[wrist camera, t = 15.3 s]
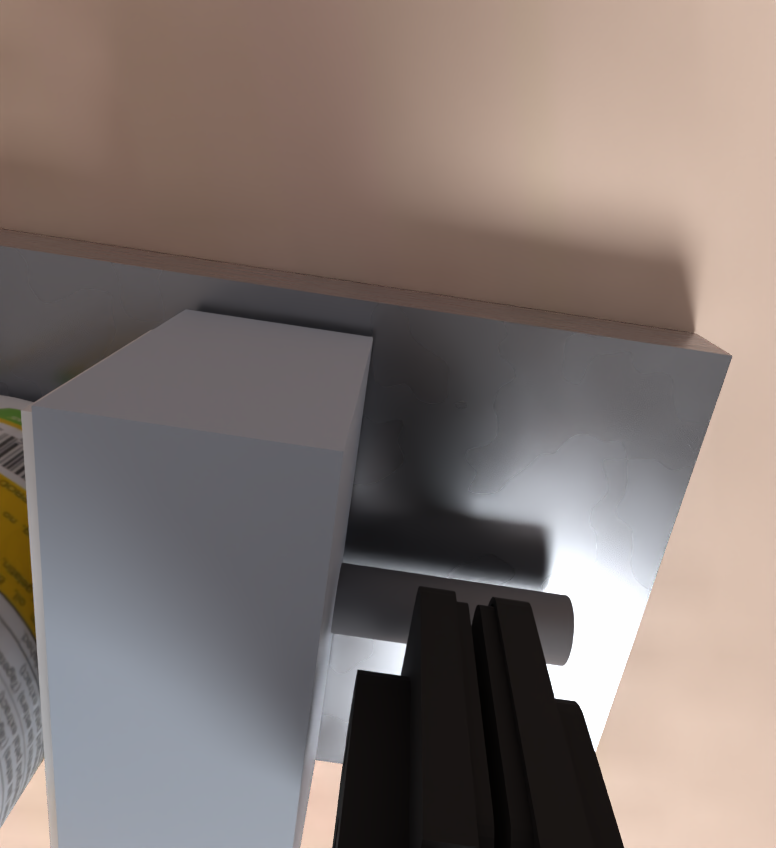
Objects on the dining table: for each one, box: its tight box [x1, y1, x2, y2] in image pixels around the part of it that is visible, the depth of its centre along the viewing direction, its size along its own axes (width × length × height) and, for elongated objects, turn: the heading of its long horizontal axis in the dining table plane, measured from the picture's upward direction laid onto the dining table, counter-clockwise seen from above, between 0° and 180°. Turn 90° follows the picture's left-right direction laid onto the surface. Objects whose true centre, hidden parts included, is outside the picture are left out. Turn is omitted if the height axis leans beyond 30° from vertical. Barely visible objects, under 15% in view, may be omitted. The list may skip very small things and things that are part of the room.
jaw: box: [21, 309, 574, 848], centre depth 10 cm, size 7×9×4 cm
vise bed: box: [0, 229, 732, 764], centre depth 11 cm, size 18×10×6 cm, turn 82°
